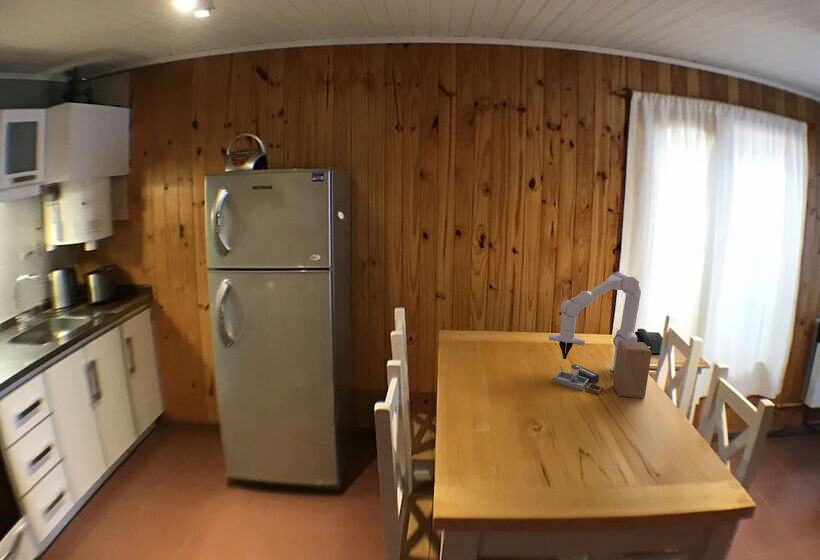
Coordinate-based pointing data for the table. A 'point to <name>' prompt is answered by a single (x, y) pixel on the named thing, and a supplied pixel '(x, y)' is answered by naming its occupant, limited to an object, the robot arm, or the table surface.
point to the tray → (565, 380)
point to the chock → (588, 375)
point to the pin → (575, 373)
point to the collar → (594, 389)
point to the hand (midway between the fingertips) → (564, 358)
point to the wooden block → (631, 369)
